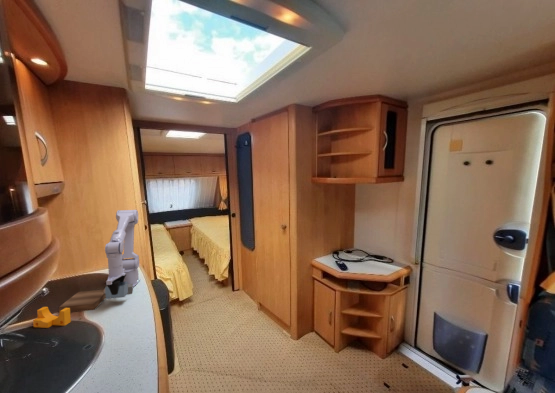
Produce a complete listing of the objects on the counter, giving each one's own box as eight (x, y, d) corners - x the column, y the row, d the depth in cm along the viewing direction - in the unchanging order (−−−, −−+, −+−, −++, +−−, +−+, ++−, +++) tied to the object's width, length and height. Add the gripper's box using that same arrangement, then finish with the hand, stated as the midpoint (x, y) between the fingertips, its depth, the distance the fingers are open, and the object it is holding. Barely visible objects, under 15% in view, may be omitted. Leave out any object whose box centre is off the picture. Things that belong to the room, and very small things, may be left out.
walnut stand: (78, 297, 116) (78, 291, 116) (109, 294, 119) (108, 289, 119) (59, 313, 102) (58, 307, 102) (94, 309, 106) (94, 303, 105)
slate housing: (107, 294, 112) (106, 283, 111) (128, 292, 114) (127, 281, 114) (102, 299, 108) (102, 287, 107) (124, 297, 110) (123, 285, 109)
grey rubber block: (124, 292, 122) (123, 285, 122) (132, 290, 124) (132, 283, 124) (123, 295, 119) (122, 288, 118) (132, 293, 120) (131, 286, 120)
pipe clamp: (33, 327, 93) (32, 312, 93) (44, 320, 97) (43, 306, 97) (60, 328, 92) (59, 313, 92) (70, 322, 97) (70, 307, 96)
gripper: (117, 271, 104) (119, 298, 105) (130, 259, 118) (131, 284, 119) (100, 272, 102) (102, 300, 103) (115, 260, 116) (116, 285, 117)
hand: (116, 291), depth 111 cm, fingers closed on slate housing, 4 cm apart
